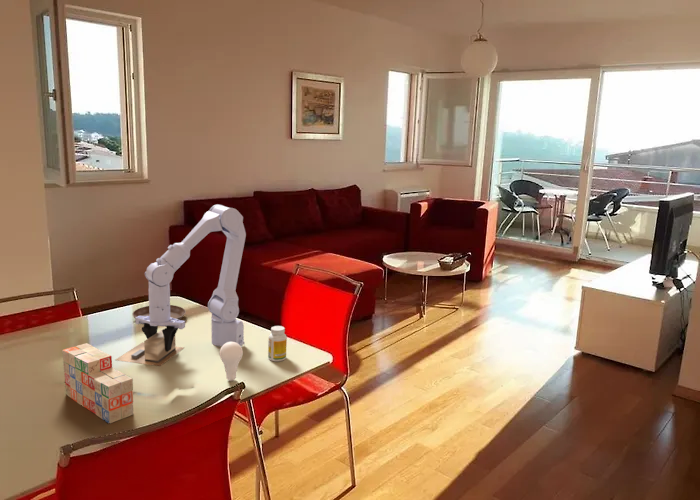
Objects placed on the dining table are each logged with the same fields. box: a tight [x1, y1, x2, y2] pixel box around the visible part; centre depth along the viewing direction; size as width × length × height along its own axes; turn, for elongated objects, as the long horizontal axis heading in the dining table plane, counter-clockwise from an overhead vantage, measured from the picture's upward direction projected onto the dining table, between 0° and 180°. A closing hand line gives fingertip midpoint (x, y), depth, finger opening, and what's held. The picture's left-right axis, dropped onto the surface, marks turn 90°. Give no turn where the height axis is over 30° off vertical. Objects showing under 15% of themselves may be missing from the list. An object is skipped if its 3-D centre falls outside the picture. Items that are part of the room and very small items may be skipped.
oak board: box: [115, 341, 185, 367], centre depth 164 cm, size 14×14×2 cm
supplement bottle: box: [267, 325, 288, 362], centre depth 167 cm, size 5×5×10 cm
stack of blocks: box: [61, 342, 134, 424], centre depth 135 cm, size 21×6×12 cm, turn 51°
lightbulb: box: [219, 342, 244, 382], centre depth 151 cm, size 6×6×11 cm
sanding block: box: [143, 328, 177, 363], centre depth 162 cm, size 4×10×6 cm, turn 168°
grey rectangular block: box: [131, 349, 145, 359], centre depth 161 cm, size 2×4×1 cm, turn 168°
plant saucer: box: [132, 304, 187, 320], centre depth 196 cm, size 18×18×3 cm
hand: (160, 349), depth 162 cm, fingers closed on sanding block, 4 cm apart
